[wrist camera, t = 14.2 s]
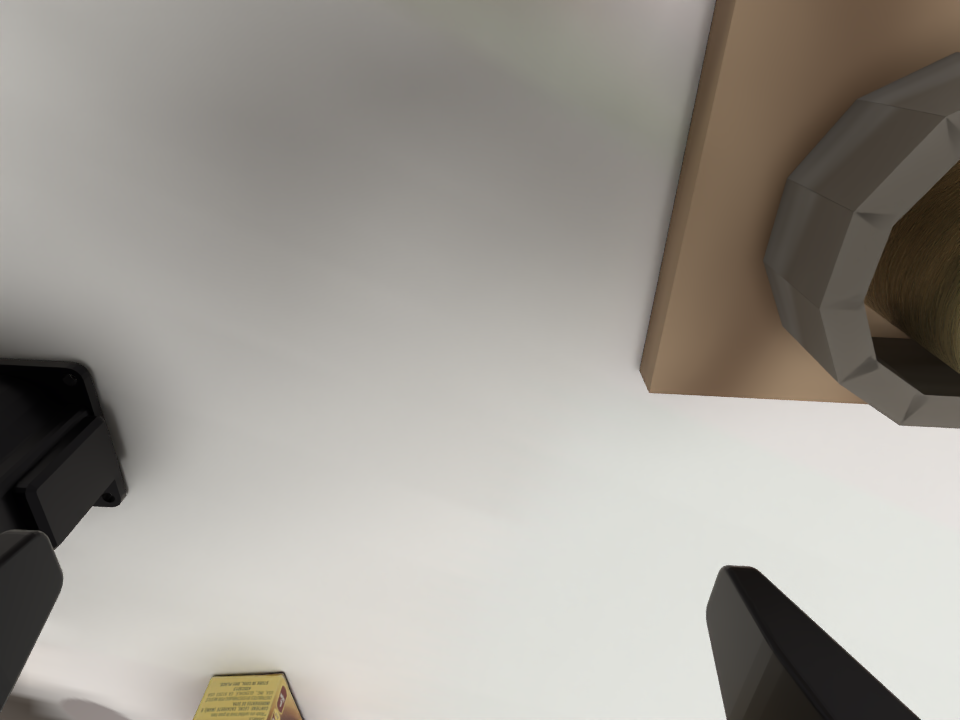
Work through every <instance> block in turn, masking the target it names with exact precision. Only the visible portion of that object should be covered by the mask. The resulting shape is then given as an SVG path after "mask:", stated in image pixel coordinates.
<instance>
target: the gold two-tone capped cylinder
mask: <svg viewBox="0 0 960 720" xmlns="http://www.w3.org/2000/svg"><path fill="white" fill-rule="evenodd" d="M864 304H865V305H867V306H868V307H869V308H871V309H872V310H873V311H875V312H876V313H877V314H879V315H880V316H882V317H883V318H884V319H886V320H887V321H888V322H890V323H891V324H892V325H894V326H895V327H896V328H898V329H899V330H901V331H902V332H903V333H905V334H906V335H907V336H909V337H910V338H911V339H913V340H914V341H915V342H917V343H918V344H920V345H921V346H922V347H924V348H925V349H926V350H928V351H929V352H930V353H932V354H933V355H934V356H936V357H937V358H939V359H940V360H941V361H943V362H944V363H945V364H947V365H948V366H949V367H951V368H952V369H954V370H955V371H956V372H958V373H959V374H960V160H959V161H958V162H957V163H956V164H955V165H954V166H953V167H952V168H951V169H950V170H949V171H948V172H947V173H946V174H945V175H944V176H943V177H942V178H941V179H940V180H939V181H938V182H937V183H936V184H935V185H934V186H933V187H932V188H931V189H930V190H929V191H928V192H927V193H926V194H925V195H924V196H923V197H922V198H921V199H920V200H919V201H918V202H917V203H916V204H915V205H914V206H913V207H912V208H911V209H910V210H909V211H907V212H906V213H905V214H904V215H903V216H902V217H901V218H900V219H899V220H898V221H897V222H896V223H895V224H894V225H893V227H892V230H891V232H890V235H889V237H888V240H887V242H886V245H885V248H884V250H883V253H882V255H881V258H880V260H879V263H878V265H877V268H876V271H875V273H874V276H873V278H872V281H871V283H870V286H869V288H868V291H867V293H866V296H865V299H864Z"/></svg>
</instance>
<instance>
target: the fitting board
mask: <svg viewBox="0 0 960 720" xmlns="http://www.w3.org/2000/svg"><path fill="white" fill-rule="evenodd" d="M959 160H960V0H716V5H715V9H714V14H713V19H712V24H711V29H710V33H709V38H708V43H707V48H706V53H705V57H704V62H703V67H702V72H701V77H700V82H699V86H698V91H697V96H696V101H695V106H694V110H693V115H692V120H691V125H690V130H689V134H688V139H687V144H686V149H685V154H684V158H683V163H682V168H681V173H680V178H679V183H678V187H677V192H676V197H675V202H674V207H673V211H672V216H671V221H670V226H669V231H668V235H667V240H666V245H665V250H664V255H663V260H662V264H661V269H660V274H659V279H658V284H657V288H656V293H655V298H654V303H653V308H652V312H651V317H650V322H649V327H648V332H647V336H646V341H645V346H644V351H643V356H642V361H641V365H640V370H639V371H640V373H641V375H642V378H643V380H644V382H645V384H646V387H647V389H648V391H649V393H662V394H682V395H701V396H720V397H740V398H759V399H779V400H798V401H817V402H837V403H856V404H869V405H871V406H872V407H874V408H875V409H876V410H878V411H879V412H881V413H882V414H884V415H885V416H887V417H888V418H890V419H891V420H892V421H894V422H895V423H897V424H898V425H902V426H922V427H941V428H960V374H959V373H958V372H956V371H955V370H954V369H952V368H951V367H949V366H948V365H947V364H945V363H944V362H943V361H941V360H940V359H939V358H937V357H936V356H934V355H933V354H932V353H930V352H929V351H928V350H926V349H925V348H924V347H922V346H921V345H920V344H918V343H917V342H915V341H914V340H913V339H911V338H910V337H909V336H907V335H906V334H905V333H903V332H902V331H901V330H899V329H898V328H896V327H895V326H894V325H892V324H891V323H890V322H888V321H887V320H886V319H884V318H883V317H882V316H880V315H879V314H877V313H876V312H875V311H873V310H872V309H871V308H869V307H868V306H867V305H865V304H864V299H865V296H866V293H867V291H868V288H869V286H870V283H871V281H872V278H873V276H874V273H875V271H876V268H877V265H878V263H879V260H880V258H881V255H882V253H883V250H884V248H885V245H886V242H887V240H888V237H889V235H890V232H891V230H892V227H893V225H894V224H895V223H896V222H897V221H898V220H899V219H900V218H901V217H902V216H903V215H904V214H905V213H906V212H907V211H909V210H910V209H911V208H912V207H913V206H914V205H915V204H916V203H917V202H918V201H919V200H920V199H921V198H922V197H923V196H924V195H925V194H926V193H927V192H928V191H929V190H930V189H931V188H932V187H933V186H934V185H935V184H936V183H937V182H938V181H939V180H940V179H941V178H942V177H943V176H944V175H945V174H946V173H947V172H948V171H949V170H950V169H951V168H952V167H953V166H954V165H955V164H956V163H957V162H958V161H959Z"/></svg>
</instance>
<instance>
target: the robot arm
mask: <svg viewBox="0 0 960 720" xmlns="http://www.w3.org/2000/svg"><path fill="white" fill-rule="evenodd" d="M70 374H71V375H73V376H74V377H75V378H76V379H77V380H75V379H73V378H72V377H71V376H70ZM111 494H112V495H111ZM125 497H126V489H125V486H124V483H123V479H122V476H121V473H120V468H119V464H118V461H117V458H116V455H115V451H114V448H113V445H112V442H111V438H110V435H109V432H108V429H107V425H106V422H105V421H104V418H103V414H102V411H101V408H100V405H99V401H98V398H97V395H96V392H95V388H94V385H93V382H92V379H91V375H90V373H89V371H88V370H87V369H86V368H85V367H84V366H82V365H80V364H79V363H74V362H60V361H40V360H21V359H1V358H0V712H1V710H2V709H3V707H4V705H5V703H6V701H7V699H8V697H9V695H10V694H11V692H12V690H13V688H14V686H15V684H16V682H17V680H18V678H19V676H20V674H21V672H22V669H23V667H24V665H25V663H26V661H27V659H28V657H29V655H30V653H31V651H32V649H33V647H34V645H35V643H36V641H37V639H38V637H39V635H40V633H41V631H42V629H43V627H44V625H45V623H46V621H47V618H48V616H49V614H50V612H51V610H52V608H53V606H54V604H55V602H56V600H57V598H58V596H59V594H60V591H61V588H62V585H63V572H62V569H61V567H60V564H59V562H58V559H57V557H56V555H55V552H54V550H55V549H56V548H57V547H58V546H59V545H60V544H61V543H62V542H63V541H64V539H65V538H66V537H67V536H68V535H69V533H70V532H71V531H72V530H73V529H74V527H75V526H76V525H77V524H78V523H79V521H80V520H81V519H82V518H83V517H84V515H85V514H86V513H87V512H88V511H89V509H90V508H91V507H92V506H98V507H116V506H118V505H120V503H121V502H122V501H123V500H124V498H125ZM706 620H707V627H708V632H709V637H710V641H711V646H712V651H713V656H714V661H715V665H716V670H717V675H718V680H719V685H720V690H721V694H722V699H723V704H724V709H725V714H726V719H727V720H921V719H920V718H919V717H918V716H916V715H915V714H914V713H913V712H912V711H911V710H910V709H909V708H908V707H907V706H906V705H905V704H903V703H902V702H901V701H900V700H899V699H898V698H897V697H896V696H895V695H894V694H893V693H891V692H890V691H889V690H888V689H887V688H886V687H885V686H884V685H883V684H882V683H881V682H879V681H878V680H877V679H876V678H875V677H874V676H873V675H872V674H871V673H870V672H869V671H868V670H866V669H865V668H864V667H863V666H862V665H861V664H860V663H859V662H858V661H857V660H856V659H854V658H853V657H852V656H851V655H850V654H849V653H848V652H847V651H846V650H845V649H844V648H842V647H841V646H840V645H839V644H838V643H837V642H836V641H835V640H834V639H833V638H832V637H830V636H829V635H828V634H827V633H826V632H825V631H824V630H823V629H822V628H821V627H820V626H819V625H817V624H816V623H815V622H814V621H813V620H812V619H811V618H810V617H809V616H808V615H807V614H805V613H804V612H803V611H802V610H801V609H800V608H799V607H798V606H797V605H796V604H795V603H793V602H792V601H791V600H790V599H789V598H788V597H787V596H786V595H785V594H784V593H783V592H782V591H780V590H779V589H778V588H777V587H776V586H775V585H774V584H773V583H772V582H771V581H770V580H768V579H767V578H766V577H765V576H764V575H763V574H762V573H761V572H760V571H758V570H757V569H755V568H753V567H750V566H732V565H726V566H723V567H722V568H721V569H720V571H719V573H718V575H717V578H716V581H715V584H714V587H713V590H712V593H711V595H710V598H709V601H708V604H707V609H706Z"/></svg>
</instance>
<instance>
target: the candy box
mask: <svg viewBox="0 0 960 720" xmlns="http://www.w3.org/2000/svg"><path fill="white" fill-rule="evenodd" d="M193 720H302V718H301V716H300V713H299V711H298V709H297V706H296V704H295V702H294V700H293V697H292V695H291V693H290V691H289V688H288V683H287V680H286V678H285V676H284V674H283V673H277V674H266V675H246V676H215V677H212V678H211V680H210V682H209V684H208V687H207V689H206V691H205V693H204V696H203V698H202V700H201V703H200V705H199V707H198V709H197V712H196V714H195V716H194V718H193Z"/></svg>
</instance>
